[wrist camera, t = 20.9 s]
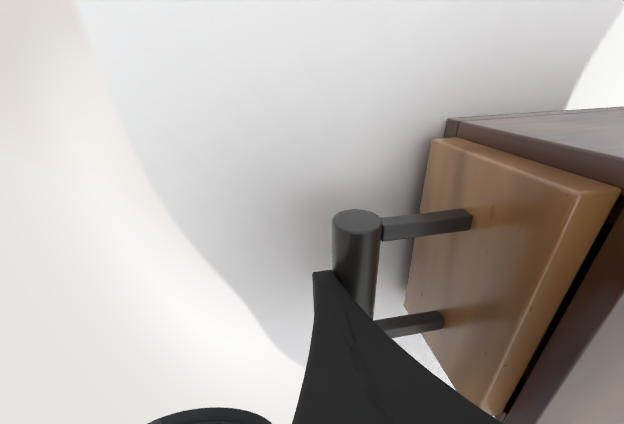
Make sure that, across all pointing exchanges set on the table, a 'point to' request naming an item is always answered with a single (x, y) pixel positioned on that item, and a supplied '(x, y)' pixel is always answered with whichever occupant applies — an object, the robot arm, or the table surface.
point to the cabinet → (597, 282)
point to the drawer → (480, 260)
